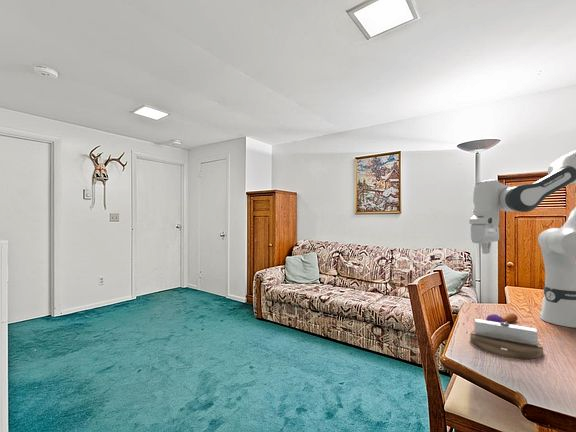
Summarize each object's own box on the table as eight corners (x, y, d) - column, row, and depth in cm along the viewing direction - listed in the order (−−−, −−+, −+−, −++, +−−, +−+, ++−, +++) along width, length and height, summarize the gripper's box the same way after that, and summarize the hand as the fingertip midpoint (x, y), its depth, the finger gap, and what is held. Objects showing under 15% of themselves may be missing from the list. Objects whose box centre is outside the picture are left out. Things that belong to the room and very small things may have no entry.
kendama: (523, 314, 125) (502, 319, 114) (519, 327, 125) (498, 334, 114) (506, 307, 130) (485, 312, 119) (503, 320, 130) (481, 326, 119)
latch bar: (475, 334, 106) (475, 319, 106) (475, 330, 109) (475, 317, 109) (537, 345, 97) (537, 330, 97) (536, 341, 99) (536, 326, 99)
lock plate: (473, 330, 117) (473, 323, 117) (540, 343, 105) (540, 335, 105) (467, 348, 101) (467, 341, 101) (545, 366, 89) (545, 357, 89)
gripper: (486, 219, 132) (486, 250, 132) (467, 219, 119) (467, 254, 119) (503, 219, 127) (503, 252, 127) (485, 219, 114) (485, 256, 114)
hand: (486, 253), depth 123 cm, fingers closed
